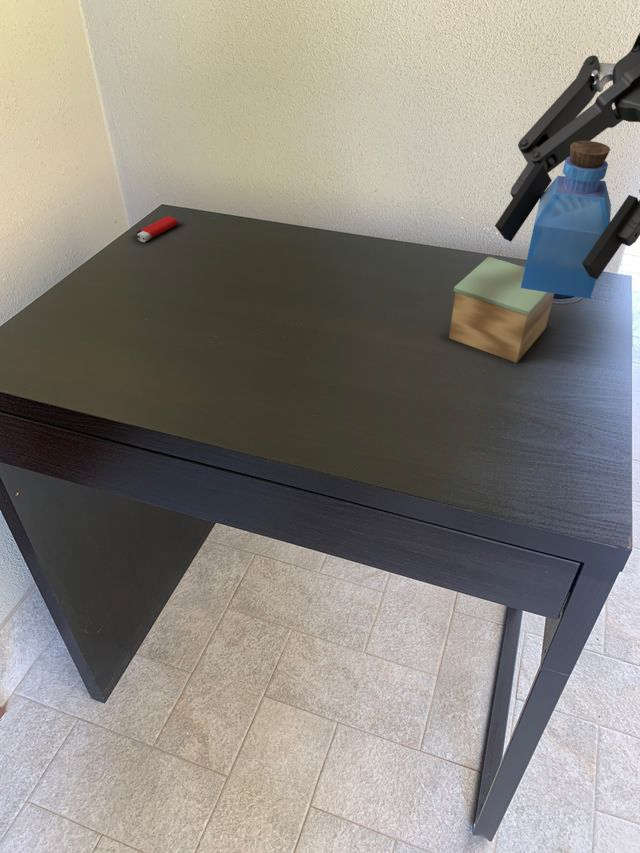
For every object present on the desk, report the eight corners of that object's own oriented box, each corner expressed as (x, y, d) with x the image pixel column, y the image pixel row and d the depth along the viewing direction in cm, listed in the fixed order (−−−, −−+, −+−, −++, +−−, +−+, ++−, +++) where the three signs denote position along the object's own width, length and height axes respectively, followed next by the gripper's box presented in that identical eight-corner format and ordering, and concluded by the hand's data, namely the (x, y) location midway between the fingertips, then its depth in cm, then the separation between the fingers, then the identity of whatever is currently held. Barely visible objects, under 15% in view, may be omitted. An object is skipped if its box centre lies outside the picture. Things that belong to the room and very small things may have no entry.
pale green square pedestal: (547, 328, 96) (560, 277, 91) (517, 364, 90) (529, 311, 84) (479, 306, 101) (488, 256, 95) (446, 338, 94) (453, 287, 89)
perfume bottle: (590, 298, 61) (629, 165, 53) (520, 288, 63) (548, 156, 55) (593, 267, 66) (629, 139, 58) (527, 257, 67) (554, 131, 59)
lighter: (177, 219, 120) (144, 236, 116) (178, 226, 121) (145, 243, 116) (165, 215, 122) (132, 232, 117) (166, 222, 122) (134, 239, 118)
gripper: (836, 74, 54) (662, 317, 57) (601, 28, 66) (468, 230, 70) (842, 5, 48) (647, 281, 51) (582, -31, 60) (438, 193, 64)
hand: (544, 251), depth 60 cm, fingers closed on perfume bottle, 8 cm apart
